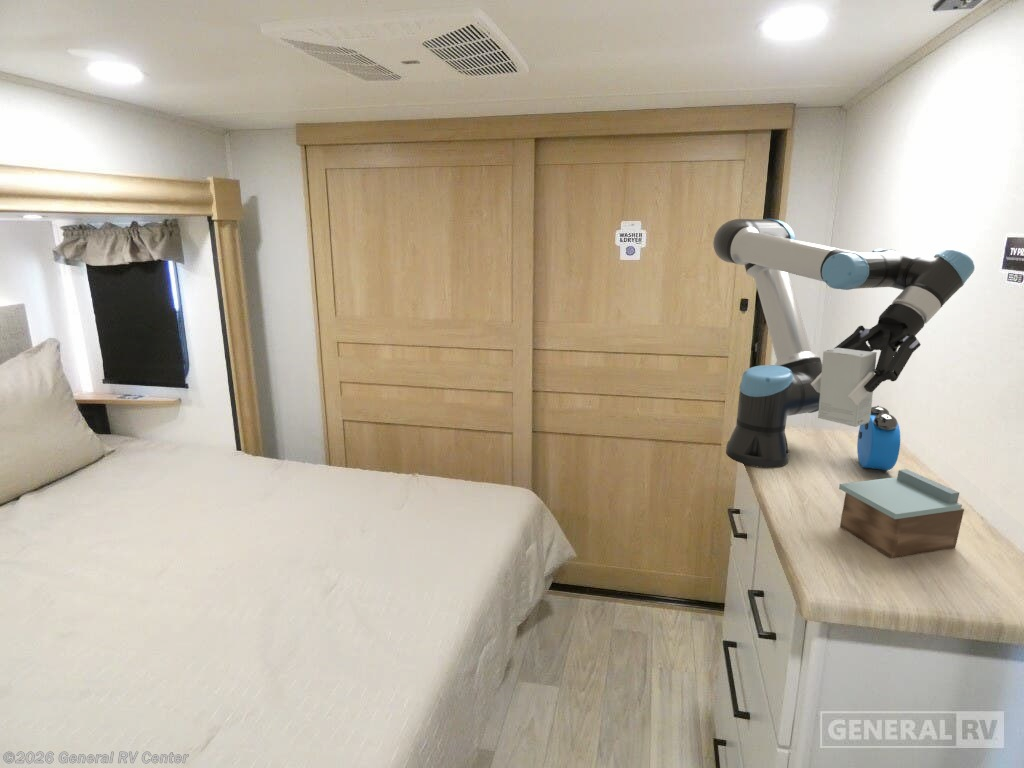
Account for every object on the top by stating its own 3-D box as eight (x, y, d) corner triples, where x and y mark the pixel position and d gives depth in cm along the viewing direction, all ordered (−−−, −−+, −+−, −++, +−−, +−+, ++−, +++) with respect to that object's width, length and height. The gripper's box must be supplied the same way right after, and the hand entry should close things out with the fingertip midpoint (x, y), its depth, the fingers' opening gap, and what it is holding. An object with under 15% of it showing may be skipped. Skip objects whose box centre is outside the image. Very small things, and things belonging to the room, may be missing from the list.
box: (839, 526, 119) (846, 490, 117) (899, 518, 122) (906, 482, 120) (890, 558, 107) (898, 518, 105) (955, 548, 111) (964, 509, 109)
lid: (839, 488, 116) (841, 474, 116) (900, 481, 120) (902, 467, 119) (894, 519, 105) (898, 503, 104) (960, 509, 108) (964, 494, 108)
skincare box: (870, 423, 122) (880, 352, 118) (854, 428, 119) (865, 355, 115) (830, 413, 129) (839, 345, 125) (814, 417, 126) (823, 349, 122)
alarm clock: (894, 479, 141) (906, 419, 137) (865, 476, 143) (876, 417, 139) (879, 459, 153) (889, 403, 149) (852, 456, 155) (862, 401, 151)
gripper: (967, 335, 112) (886, 421, 112) (872, 319, 133) (804, 392, 133) (950, 308, 110) (867, 396, 110) (856, 296, 130) (786, 371, 131)
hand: (832, 394), depth 122 cm, fingers closed on skincare box, 9 cm apart
